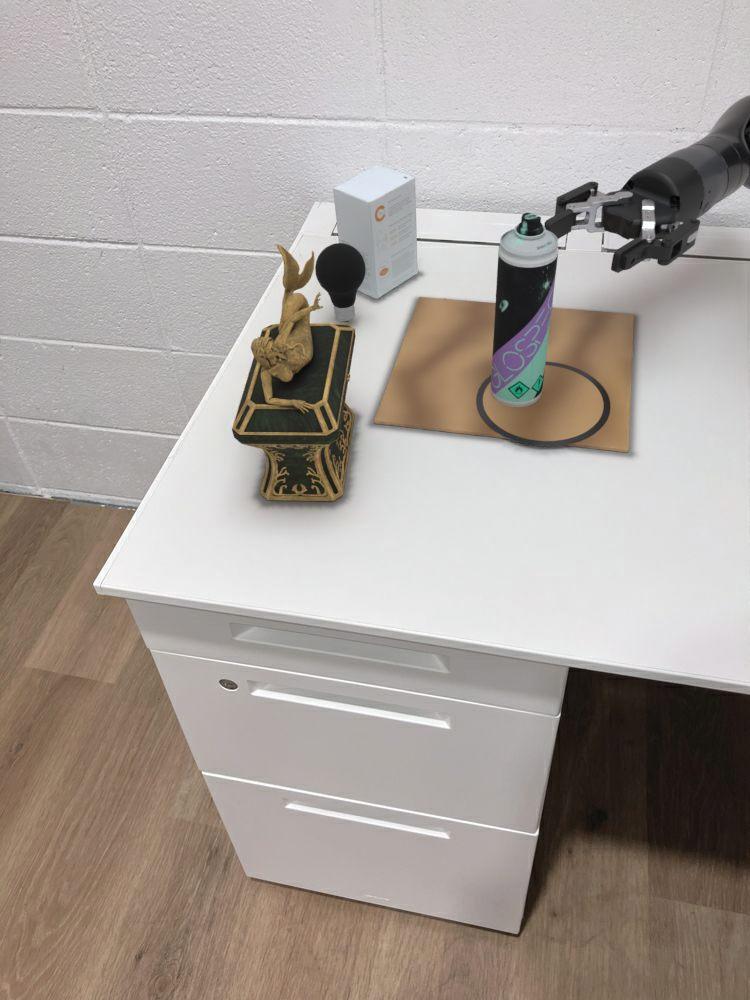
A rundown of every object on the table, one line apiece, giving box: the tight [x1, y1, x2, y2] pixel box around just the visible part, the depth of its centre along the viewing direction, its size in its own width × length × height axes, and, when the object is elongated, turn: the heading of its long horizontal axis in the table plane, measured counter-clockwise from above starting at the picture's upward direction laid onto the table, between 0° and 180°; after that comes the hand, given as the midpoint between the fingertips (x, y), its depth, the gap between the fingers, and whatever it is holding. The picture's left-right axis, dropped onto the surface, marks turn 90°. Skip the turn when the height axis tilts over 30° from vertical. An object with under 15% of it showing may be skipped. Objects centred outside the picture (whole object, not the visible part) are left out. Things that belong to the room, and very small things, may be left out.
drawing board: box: [373, 296, 635, 453], centre depth 90 cm, size 26×25×1 cm
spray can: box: [491, 212, 559, 407], centre depth 79 cm, size 6×6×20 cm
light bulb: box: [314, 242, 366, 323], centre depth 95 cm, size 6×6×10 cm
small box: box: [332, 164, 419, 300], centre depth 100 cm, size 8×6×13 cm
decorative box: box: [231, 243, 356, 502], centre depth 76 cm, size 20×10×20 cm, turn 175°
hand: (579, 248), depth 80 cm, fingers open, 8 cm apart
